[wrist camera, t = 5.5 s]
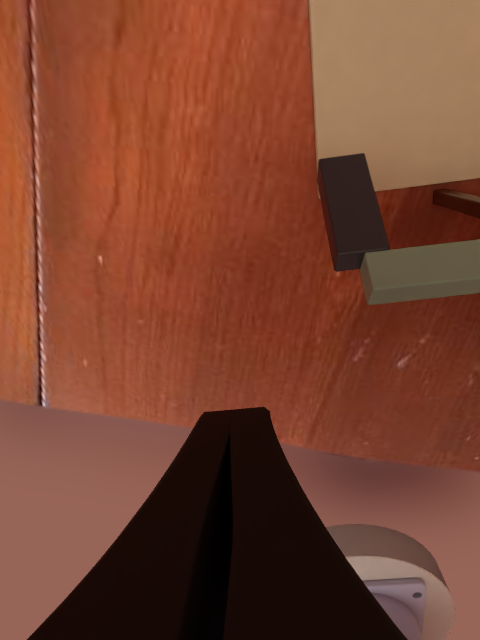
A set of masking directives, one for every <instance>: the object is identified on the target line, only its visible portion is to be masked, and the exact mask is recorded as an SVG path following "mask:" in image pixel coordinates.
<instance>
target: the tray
mask: <svg viewBox="0 0 480 640" xmlns="http://www.w3.org/2000/svg"><path fill="white" fill-rule="evenodd" d="M317 183H318V188H319V194H320V199H321V204H322V209H323V214H324V220H325V225H326V230H327V235H328V240H329V246H330V251H331V256H332V261H333V266H334V270H335V271H336V272H337V271H346V270H354V269H360V275H361V279H362V284H363V288H364V293H365V297H366V301H367V304H368V305H374V304H383V303H392V302H402V301H411V300H420V299H429V298H438V297H447V296H457V295H466V294H475V293H480V239H477V240H468V241H460V242H452V243H443V244H435V245H426V246H418V247H409V248H401V249H392V250H390V246H389V243H388V239H387V235H386V231H385V228H384V224H383V220H382V216H381V213H380V209H379V205H378V201H377V198H376V194H375V190H374V186H373V183H372V179H371V175H370V171H369V168H368V164H367V160H366V156H365V154H364V153H359V154H352V155H345V156H337V157H330V158H322V159H319V162H318V174H317Z"/></svg>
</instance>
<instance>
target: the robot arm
mask: <svg viewBox="0 0 480 640" xmlns="http://www.w3.org/2000/svg"><path fill="white" fill-rule="evenodd" d="M425 598H426V586H425V583H424V581H423V580H422V579H420V578H403V579H387V580H370V581H362V580H361V578H360V577H359V575H358V574H357V573H356V571H355V570H354V569H353V567H352V566H351V564H350V563H349V562H348V560H347V559H346V557H345V556H344V554H343V553H342V552H341V550H340V549H339V547H338V546H337V544H336V543H335V541H334V540H333V538H332V537H331V535H330V534H329V532H328V531H327V529H326V527H325V526H324V524H323V523H322V521H321V519H320V518H319V516H318V515H317V513H316V512H315V510H314V508H313V507H312V505H311V503H310V502H309V500H308V498H307V497H306V495H305V493H304V491H303V490H302V488H301V486H300V484H299V482H298V480H297V478H296V476H295V474H294V473H293V471H292V469H291V467H290V465H289V463H288V461H287V459H286V457H285V455H284V453H283V451H282V448H281V446H280V443H279V441H278V439H277V436H276V433H275V431H274V428H273V425H272V421H271V417H270V411H269V410H267V409H266V408H265V407H258V408H246V409H235V410H223V411H212V412H204V413H203V414H202V415H201V417H200V418H199V420H198V421H197V423H196V425H195V426H194V428H193V430H192V431H191V433H190V435H189V436H188V438H187V440H186V441H185V443H184V445H183V446H182V448H181V449H180V451H179V452H178V454H177V456H176V457H175V459H174V460H173V462H172V463H171V465H170V466H169V468H168V470H167V471H166V472H165V474H164V475H163V477H162V478H161V480H160V481H159V483H158V484H157V485H156V487H155V488H154V490H153V491H152V493H151V494H150V495H149V497H148V498H147V500H146V501H145V502H144V504H143V505H142V506H141V508H140V509H139V510H138V511H137V513H136V514H135V515H134V517H133V518H132V519H131V521H130V522H129V523H128V525H127V526H126V527H125V529H124V530H123V531H122V533H121V534H120V535H119V536H118V538H117V539H116V540H115V542H114V543H113V544H112V545H111V546H110V548H109V549H108V550H107V551H106V553H105V554H104V555H103V556H102V557H101V559H100V560H99V561H98V562H97V563H96V565H95V566H94V567H93V568H92V569H91V571H90V572H89V573H88V574H87V575H86V576H85V577H84V578H83V580H82V581H81V582H80V583H79V584H78V585H77V586H76V587H75V589H74V590H73V591H72V592H71V593H70V594H69V595H68V597H67V598H66V599H65V600H64V601H63V602H62V603H61V604H60V605H59V606H58V607H57V609H56V610H55V611H54V612H53V613H52V614H51V615H50V616H49V617H48V618H47V619H46V620H45V621H44V622H43V623H42V624H41V625H40V626H39V627H38V628H37V630H36V631H35V632H34V633H33V634H32V635H31V636H30V637H29V638H28V639H27V640H423V638H422V635H423V622H424V610H425Z"/></svg>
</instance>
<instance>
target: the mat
mask: <svg viewBox="0 0 480 640" xmlns="http://www.w3.org/2000/svg"><path fill="white" fill-rule="evenodd" d="M308 7H309V27H310V47H311V66H312V86H313V106H314V126H315V146H316V166H317V174H318V162H319V159H322V158H330V157H337V156H345V155H352V154H359V153H364V154H365V156H366V160H367V164H368V168H369V171H370V175H371V179H372V183H373V186H374V190H375V192H376V191H384V190H392V189H400V188H408V187H415V186H423V185H431V184H439V183H447V182H454V181H462V180H470V179H478V178H480V0H308ZM317 186H318V183H317ZM318 198H319V199H320V194H319V188H318Z"/></svg>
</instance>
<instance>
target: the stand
mask: <svg viewBox="0 0 480 640" xmlns="http://www.w3.org/2000/svg"><path fill="white" fill-rule="evenodd" d="M433 204H436V205H439V206H442V207H445V208H449V209H452V210H455V211H458V212H461V213H464V214H467V215H470V216H473V217H476V218H479V219H480V196H475V195H471V194H467V193H462V192H458V191H453V190H449V189H440V190H435V191H434V192H433Z"/></svg>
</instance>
